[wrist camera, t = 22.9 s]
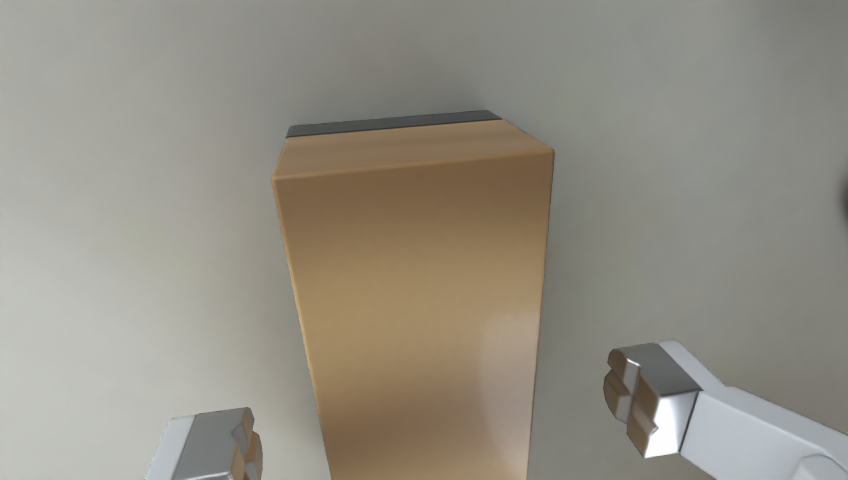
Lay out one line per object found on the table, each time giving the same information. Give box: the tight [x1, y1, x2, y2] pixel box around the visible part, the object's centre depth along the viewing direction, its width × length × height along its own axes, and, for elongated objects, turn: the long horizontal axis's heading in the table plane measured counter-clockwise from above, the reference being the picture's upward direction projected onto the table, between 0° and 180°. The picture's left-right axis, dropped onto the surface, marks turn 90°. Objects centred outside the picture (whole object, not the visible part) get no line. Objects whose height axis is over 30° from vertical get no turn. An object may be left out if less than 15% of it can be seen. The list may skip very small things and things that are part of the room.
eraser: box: [271, 110, 555, 480], centre depth 12 cm, size 12×5×4 cm, turn 3°
